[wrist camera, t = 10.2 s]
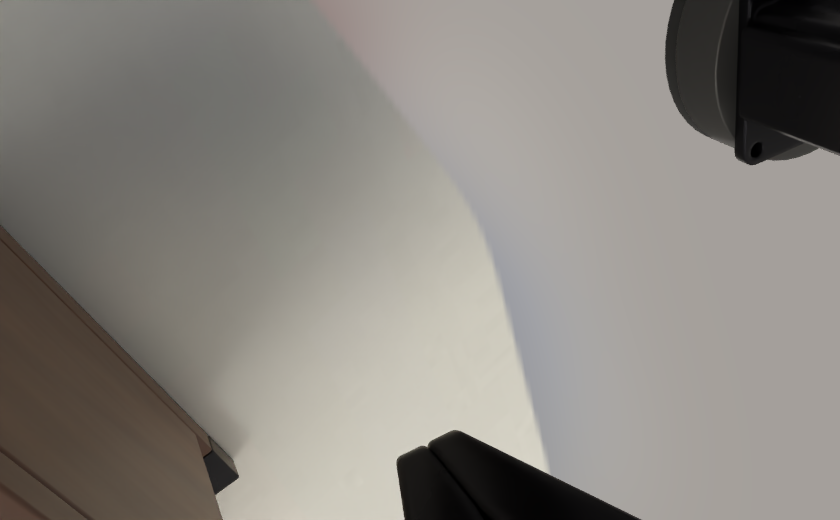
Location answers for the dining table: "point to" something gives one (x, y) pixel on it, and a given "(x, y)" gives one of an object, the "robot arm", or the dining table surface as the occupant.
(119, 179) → the dining table surface
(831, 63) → the robot arm
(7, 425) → the cabinet
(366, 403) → the dining table surface
